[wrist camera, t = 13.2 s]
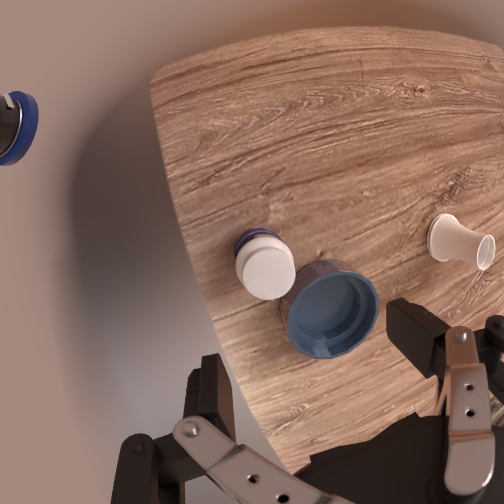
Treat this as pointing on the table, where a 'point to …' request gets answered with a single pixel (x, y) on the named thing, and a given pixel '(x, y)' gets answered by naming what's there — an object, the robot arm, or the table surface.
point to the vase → (459, 242)
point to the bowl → (329, 309)
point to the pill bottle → (263, 263)
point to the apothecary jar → (496, 413)
